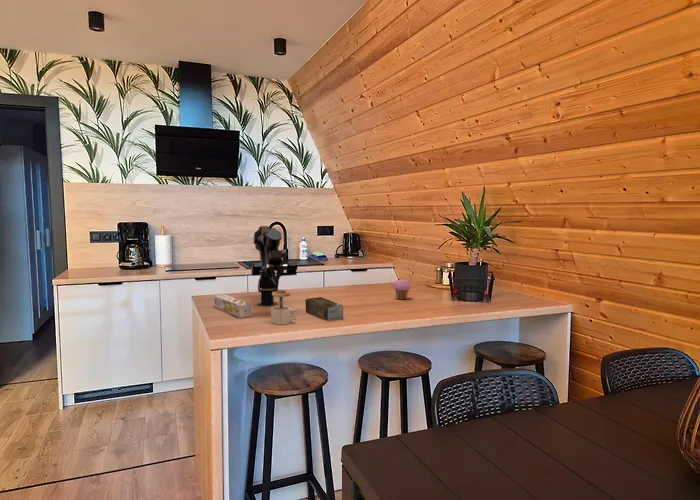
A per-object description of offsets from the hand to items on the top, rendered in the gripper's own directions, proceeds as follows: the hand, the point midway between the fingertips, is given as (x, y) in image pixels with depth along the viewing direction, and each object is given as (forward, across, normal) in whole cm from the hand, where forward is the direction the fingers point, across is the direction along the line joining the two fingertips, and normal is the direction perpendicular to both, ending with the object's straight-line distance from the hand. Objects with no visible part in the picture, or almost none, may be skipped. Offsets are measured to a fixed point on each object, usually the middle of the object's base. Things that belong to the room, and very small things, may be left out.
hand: (277, 284), depth 186 cm
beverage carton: (+11, +20, +8) cm, 24 cm away
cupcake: (-6, +67, +25) cm, 72 cm away
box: (-1, -17, +20) cm, 27 cm away
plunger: (+11, 0, -1) cm, 11 cm away
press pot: (+16, +1, +3) cm, 16 cm away
